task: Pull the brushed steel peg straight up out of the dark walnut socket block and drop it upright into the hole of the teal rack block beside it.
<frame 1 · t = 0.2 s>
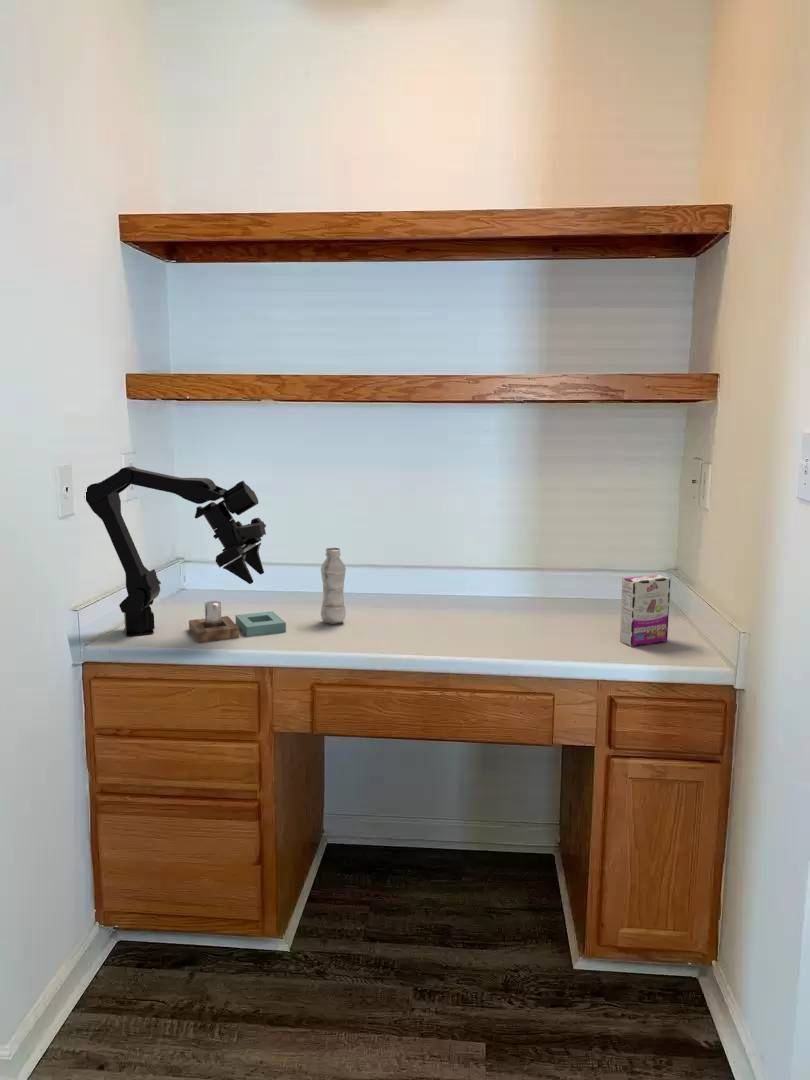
hand: (257, 578, 195), 15 cm above the table, tool tilted 30°, fingers open, 9 cm apart
plastic bottle: (333, 623, 209), on the table
rack block: (260, 628, 204), on the table
socket block: (213, 633, 199), on the table
candy bar box: (642, 642, 195), on the table
steel peg: (213, 618, 198), in the socket block
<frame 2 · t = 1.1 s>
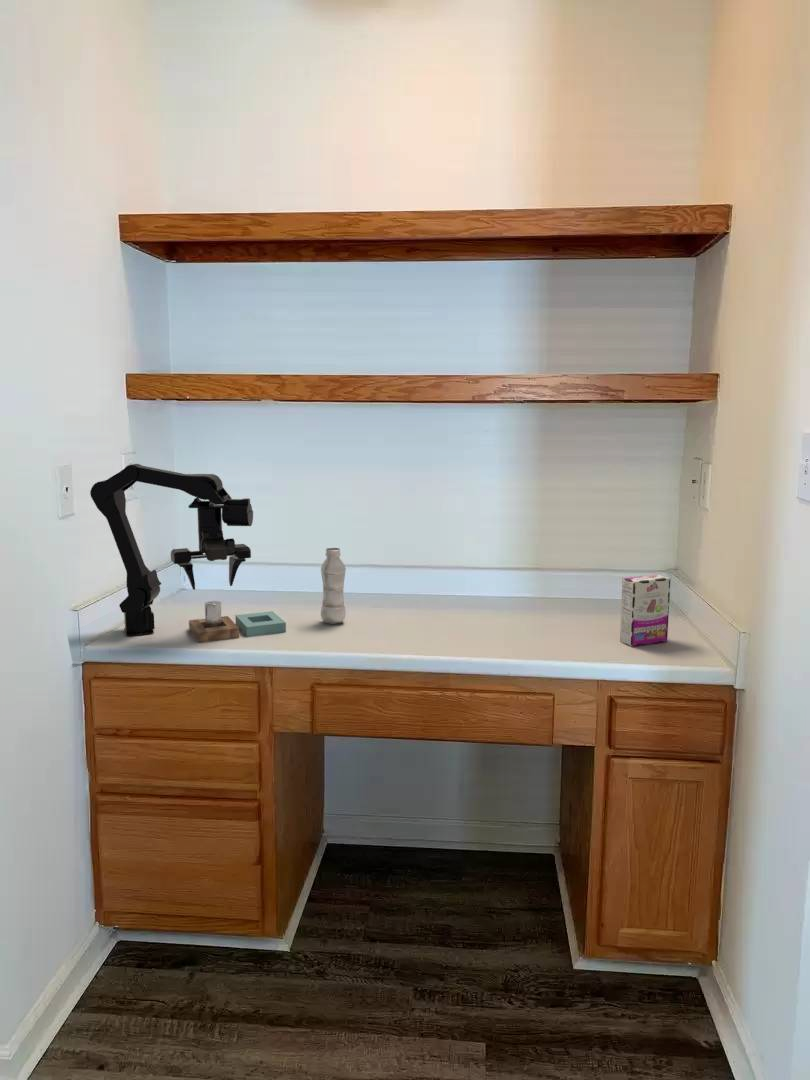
hand: (212, 587, 197), 12 cm above the table, tool pointing down, fingers open, 9 cm apart
nothing on the table moved.
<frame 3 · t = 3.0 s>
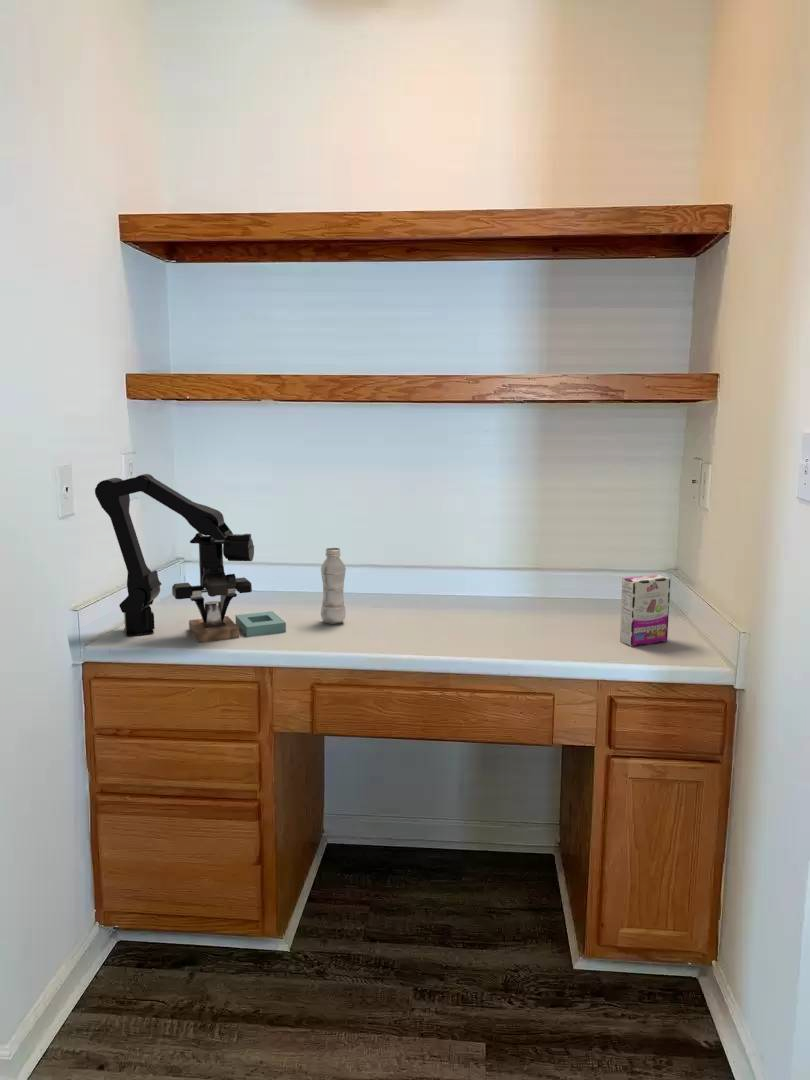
hand: (213, 621, 198), 3 cm above the table, tool pointing down, fingers closed on steel peg, 4 cm apart
steel peg: (213, 618, 198), in the socket block, touching gripper
everything else where it was.
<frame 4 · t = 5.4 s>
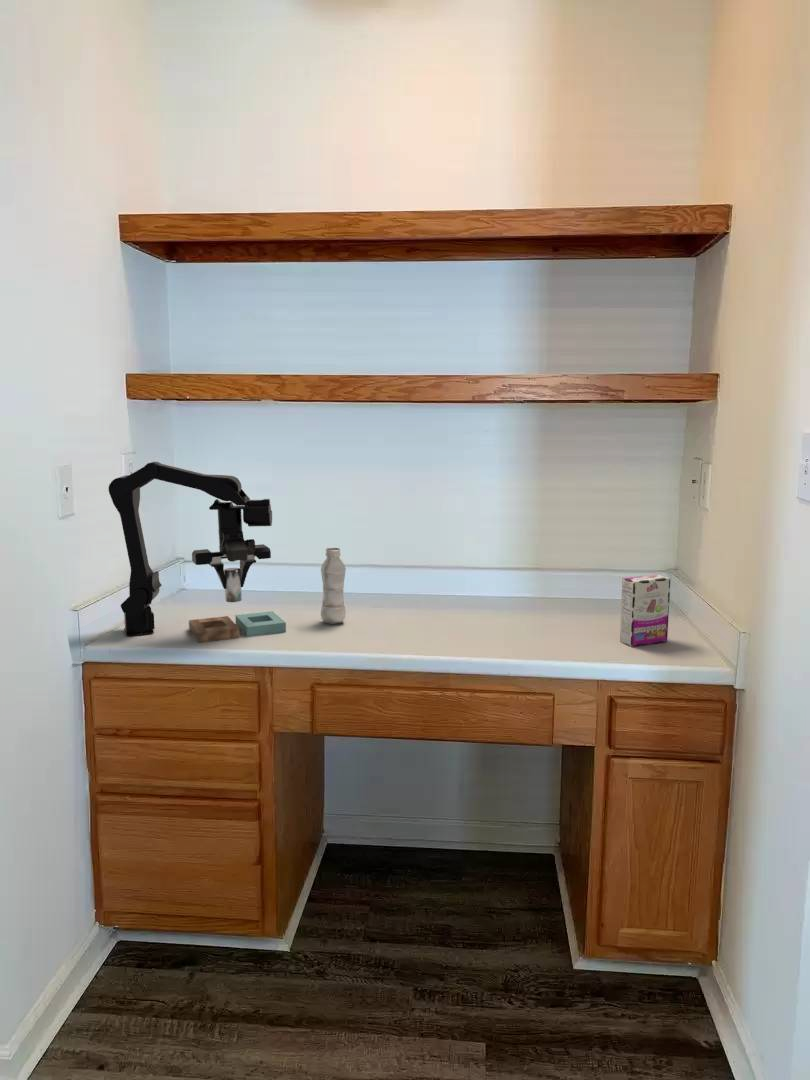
hand: (233, 587, 199), 11 cm above the table, tool pointing down, fingers closed on steel peg, 4 cm apart
steel peg: (233, 584, 199), point 12 cm above the table, touching gripper
everything else where it was.
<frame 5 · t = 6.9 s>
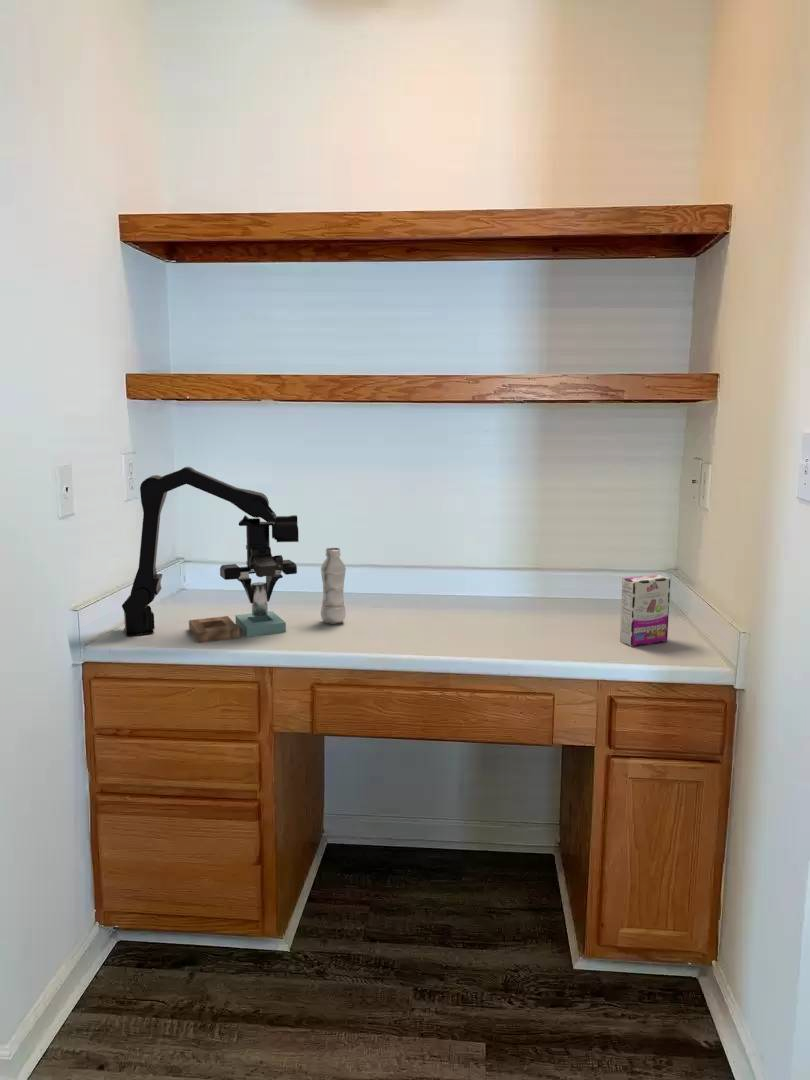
hand: (259, 602, 203), 7 cm above the table, tool pointing down, fingers closed on steel peg, 4 cm apart
steel peg: (259, 599, 202), point 8 cm above the table, touching gripper
everything else where it was.
when the fingers open (4 cm above the table, at t = 7.8 s): steel peg stays where it is, resting in rack block.
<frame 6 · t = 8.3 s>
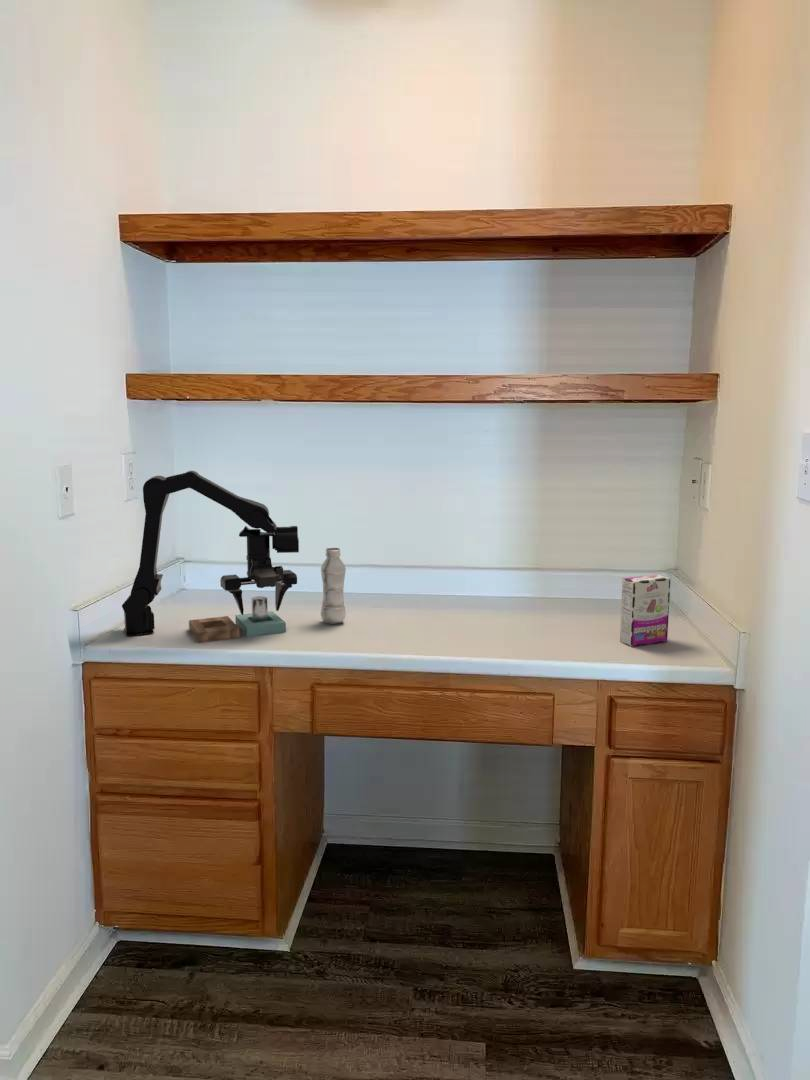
hand: (259, 612, 203), 4 cm above the table, tool pointing down, fingers open, 9 cm apart
steel peg: (259, 613, 203), in the rack block
everything else where it was.
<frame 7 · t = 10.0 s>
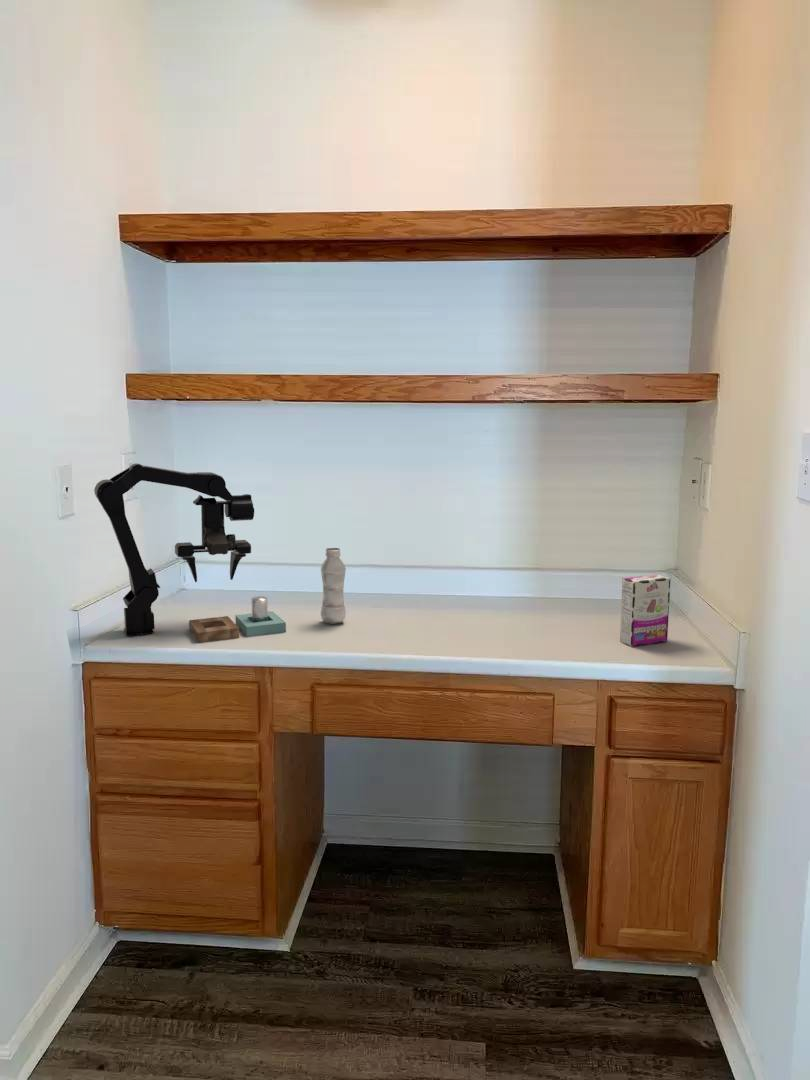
hand: (213, 580, 206), 12 cm above the table, tool pointing down, fingers open, 9 cm apart
nothing on the table moved.
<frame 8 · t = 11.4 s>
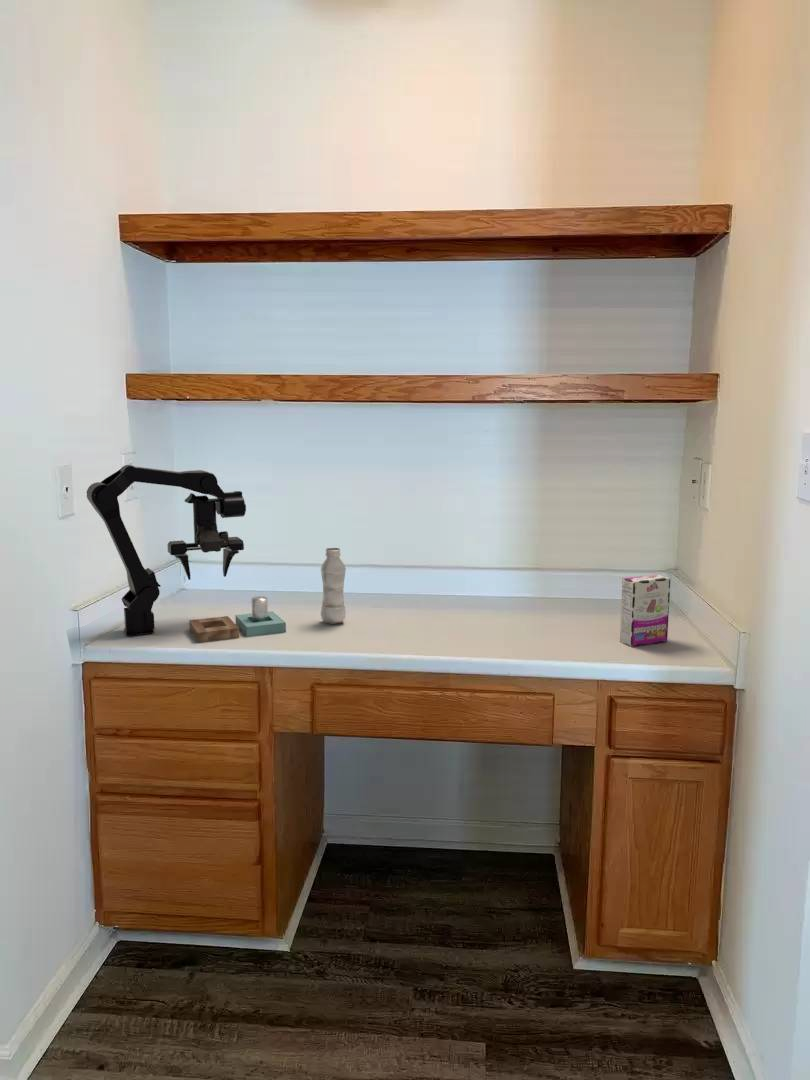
hand: (207, 578, 207), 12 cm above the table, tool pointing down, fingers open, 9 cm apart
nothing on the table moved.
at the end: steel peg 0.1 cm off-centre on the rack block, point 4.0 cm above the rack block's base; steel peg tilted 0°; the gripper is holding nothing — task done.
